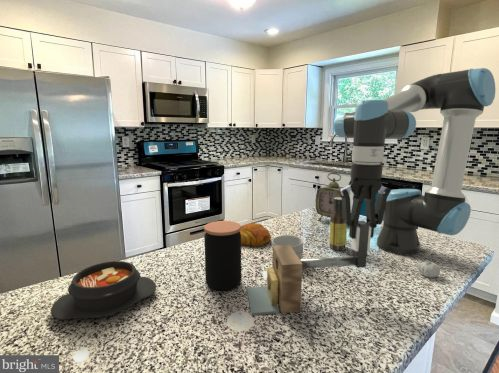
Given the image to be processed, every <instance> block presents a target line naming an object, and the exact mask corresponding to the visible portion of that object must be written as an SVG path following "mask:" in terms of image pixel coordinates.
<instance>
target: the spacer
mask: <svg viewBox="0 0 499 373" xmlns="http://www.w3.org/2000/svg"><path fill="white" fill-rule="evenodd" d="M266 286H267V293H268V296H269V299H270V302H271V305H277V306H278V279H277V276H276V274H275V271H274V269H273V268H272V267H267V268H266Z"/></svg>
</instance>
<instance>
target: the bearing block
mask: <svg viewBox="0 0 499 373" xmlns="http://www.w3.org/2000/svg"><path fill="white" fill-rule="evenodd" d="M271 265H272V266H271V268H273V269H274V271H275V274H276V276H277V279H278V305H277V306H278V309H279V312H280V313H281V314H285V313H286V314H287V313H298V312H299V313H300V312H301V310H302V309H301V308H302V307H301V306H302V283H303V269H302V263H301V261H300V259H299V258H298V256H297V255H296V253H295V252H294V250H293V249H292V247H291V246H290V245H278V246H273V250H272V264H271Z"/></svg>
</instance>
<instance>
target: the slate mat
mask: <svg viewBox="0 0 499 373" xmlns="http://www.w3.org/2000/svg"><path fill="white" fill-rule="evenodd" d="M246 293H247V298H248V303H249V309H250V314H251V316H257V315H271V314H272V315H273V314H279V313H280V308H279V306H278V305H271V302H270V299H269V296H268V293H267V285H264V286H247V287H246Z"/></svg>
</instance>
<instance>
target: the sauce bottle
mask: <svg viewBox="0 0 499 373" xmlns="http://www.w3.org/2000/svg"><path fill="white" fill-rule="evenodd" d="M329 218H330V220H329V248H330V249H331V248H332V249H331V250H333V249H335V250H334V251H343V250H345V249H346V245H347V230H348V225H347V224H345V223H344V222H343V213H342V198H340V197H336V198H334V210H333V212H332V213H331V216H330V217H329Z"/></svg>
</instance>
